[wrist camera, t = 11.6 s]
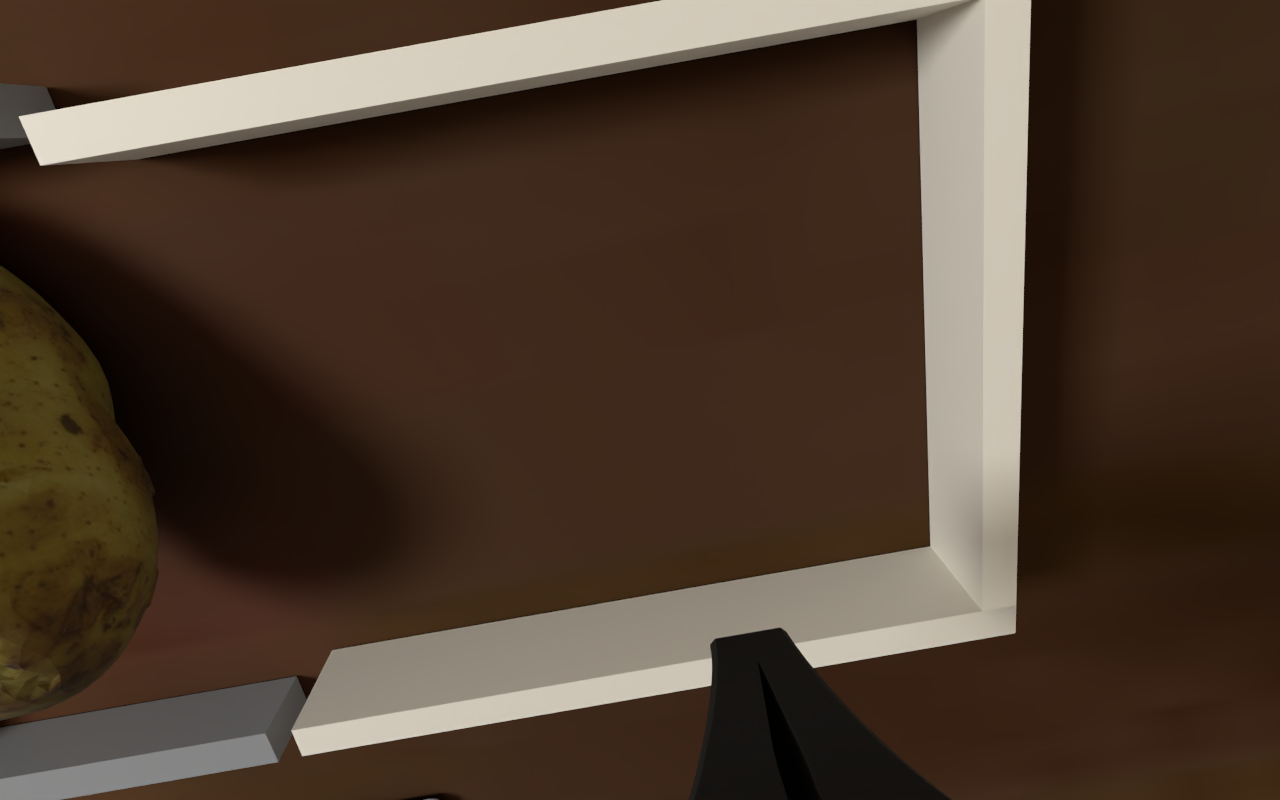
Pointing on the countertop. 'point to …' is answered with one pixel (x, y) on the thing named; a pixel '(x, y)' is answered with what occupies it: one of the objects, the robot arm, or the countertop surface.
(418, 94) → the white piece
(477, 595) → the countertop surface
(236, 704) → the frame
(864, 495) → the countertop surface
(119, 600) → the potato
